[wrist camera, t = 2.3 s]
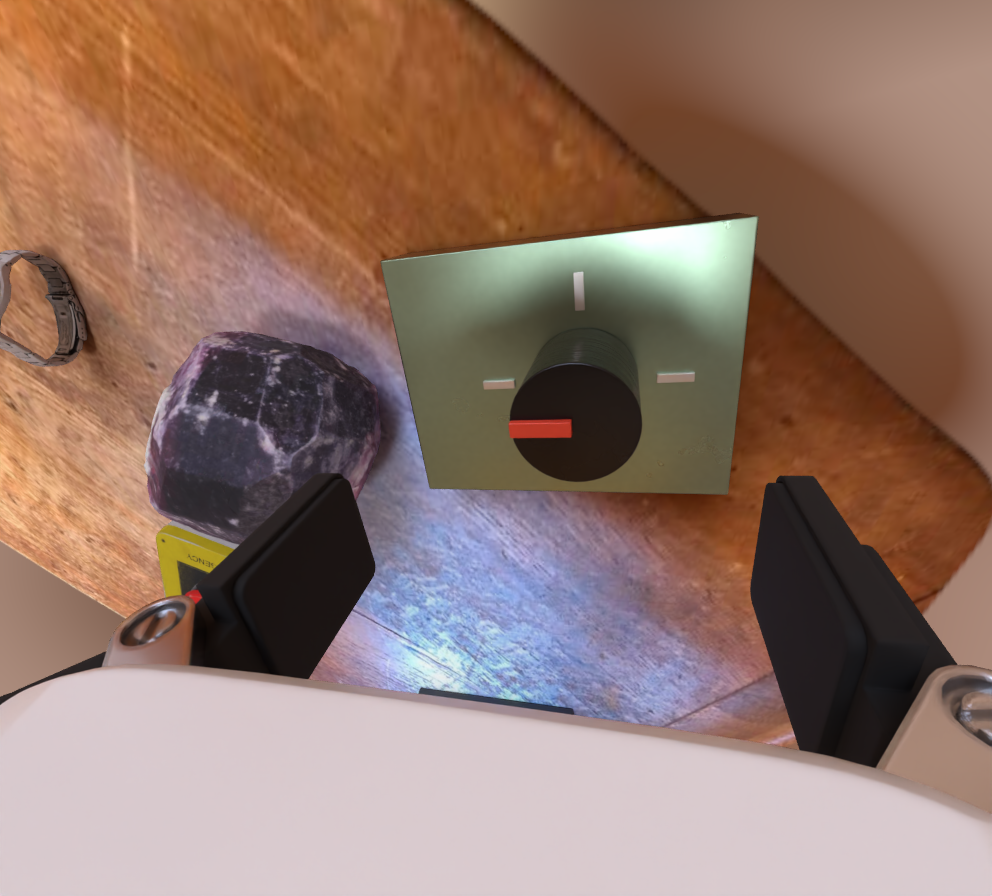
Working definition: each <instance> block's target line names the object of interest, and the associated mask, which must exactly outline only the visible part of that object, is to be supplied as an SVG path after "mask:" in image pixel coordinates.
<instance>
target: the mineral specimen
mask: <svg viewBox="0 0 992 896" xmlns="http://www.w3.org/2000/svg"><path fill="white" fill-rule="evenodd" d="M380 439H381V423H380V418H379V401H378V393H377V390H376V386H375V385H373V384H372V383H371V382H370V381H369V380H368V379H367V378H366V377H365V376H364V375H363V374H361V373H360V372H359V371H358V370H357V369H355V368H354V367H351V366H348V365H347V364H345V363H344V362H343V361H341V360H339V359H338V358H336V357H335V356H334V355H332V354H330V353H327V352H324V351H321V350H318V349H315V348H313V347H311V346H306V345H302V344H298V343H294V342H290V341H286V340H281V339H278V338H274V337H270V336H266V335H263V334H256V333H249V332H242V331H241V332H218V333H213V334H211V335H209V336H207V337H204V338H202V339H201V340H200V341H199V342H198V344H197V345H196V346H195V348H194V349H193V351H192V352H191V354H190V356H189V357H188V359H187V360H186V361H185V362H184V363H183V364H182V366H181V367H180V368H179V370H178V371H177V372H176V374H175V375H174V376H173V379H172V383H171V384H170V385H169V386H168V387H167V388H166V389H165V390H164V391H163V393H162V395H161V397H160V400H159V403H158V406H157V409H156V412H155V415H154V418H153V422H152V426H151V433H150V436H149V439H148V443H147V449H146V455H145V457H146V462H145V464H144V467H145V470H146V473H147V476H148V483H147V487H148V492H149V498H150V503H151V504H152V506H153V507H154V509H155V510H156V511H157V512H158V513H159V514H161V515H163V516H165V517H167V518H168V519H170V520H173V521H175V522H178V523H180V524H183V525H185V526H189V527H190V528H192V529H194V530H196V531H198V532H201V533H204V534H206V535H209V536H212V537H216V538H220V539H222V540H225V541H227V542H231V543H234V544H238V545H240V544H241V543H242V542H243V541H244V540H245V539H246V538H247V537H248V536H249V535H250V534H252V533H253V532H254V531H255V530H256V529H257V528H258V527H259V526H260V525H261V524H262V523H263V522H264V521H265V520H267V519H268V518H269V517H270V516H271V515H272V514H273V513H274V512H275V511H276V510H277V509H278V508H279V507H280V506H281V505H283V504H284V503H285V502H286V501H287V500H288V499H289V498H290V497H291V496H292V495H293V494H294V493H295V492H296V491H298V490H299V489H300V488H301V487H302V486H303V485H304V484H305V483H306V482H307V481H308V480H309V479H310V478H311V477H312V476H314V475H315V474H317V473H339V474H342V476H343V477H344V478H345V479H347V480H348V481H349V482H350V484H351V487H352V490H353V493H354V497H355V500H357V497H358V495H359V493H360V491H361V490H362V488H363V485H364V483H365V481H366V479H367V477H368V474H369V473H370V470H371V467H372V464H373V461H374V458H375V456H376V454H377V451H378V448H379V443H380Z"/></svg>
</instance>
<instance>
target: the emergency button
mask: <svg viewBox="0 0 992 896" xmlns="http://www.w3.org/2000/svg"><path fill="white" fill-rule="evenodd" d="M156 543H157V549H158V556H159V562H160V569H161V575H162V581H163V588H164V594H165V598H166V597H169V596H176V595H184V596H189V597H190V598H191V599H193V600H194V602H195V604H196V603H197V602H198V601H199V600H200V599H201V598H202V596H201V595H200V593H199V591H198V589H197V587H196V585H197V584H198V583H199V582H200V581H201V580H202V579H203V578H205V577H206V576H207V575H208V574H209V573H210V572H211V571H212V570H213V569H214V568H215V567H216V566H217V565H218V564H219V563H221V562H222V561H223V560H224V559H225V558H226V557H227V556H228V555H229V554H230V553H231V552H232V551H233V550H234V549H236V548H237V547H238V546H239V545H238V544H234V543H231V542H227V541H225V540H222V539H220V538H216V537H212V536H209V535H206V534H204V533H201V532H198V531H196V530H194V529H192V528H190V527H189V526H185V525H183V524H180V523H178V522H175V521H173V520H172V521H171V522H170V523H169V524H168V525H167V526H164V527H163V528H162V529H161V530H160V531H159V532H158V533H157V535H156Z"/></svg>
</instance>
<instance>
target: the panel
mask: <svg viewBox="0 0 992 896" xmlns="http://www.w3.org/2000/svg"><path fill="white" fill-rule="evenodd" d="M758 219H759V217H758V216H755V215H748V214H742V213H734V214H726V215H718V216H710V217H701V218H693V219H685V220H677V221H668V222H660V223H652V224H644V225H635V226H627V227H619V228H611V229H603V230H594V231H586V232H578V233H570V234H561V235H553V236H545V237H537V238H528V239H520V240H512V241H504V242H496V243H487V244H479V245H471V246H463V247H454V248H446V249H438V250H430V251H421V252H413V253H407V254H403V255H400V256H396V257H392V258H389V259H385V260H382V261H381V267H382V271H383V276H384V281H385V285H386V290H387V294H388V299H389V304H390V308H391V313H392V317H393V322H394V327H395V331H396V336H397V340H398V345H399V349H400V354H401V359H402V363H403V368H404V372H405V377H406V382H407V386H408V391H409V395H410V400H411V405H412V409H413V414H414V418H415V423H416V428H417V432H418V437H419V441H420V446H421V450H422V455H423V460H424V464H425V469H426V473H427V478H428V483H429V487H430V489H473V490H523V491H574V492H625V493H675V494H726V495H727V494H728V489H729V481H730V472H731V463H732V454H733V445H734V436H735V427H736V418H737V409H738V400H739V391H740V382H741V373H742V364H743V355H744V346H745V337H746V328H747V319H748V310H749V301H750V292H751V283H752V274H753V265H754V256H755V247H756V238H757V229H758ZM581 328H589V329H596V330H600V331H603V332H606V333H608V334H610V335H612V336H614V337H616V338H617V339H618V340H619V341H621V342H622V343H623V344H624V345H625V346H626V347H627V348H628V350H629V351H630V352H631V354H632V356H633V358H634V360H635V363H636V365H637V370H638V378H639V390H640V401H641V413H642V433H641V437H640V441H639V443H638V446H637V448H636V450H635V451H634V453H633V455H632V456H631V457H630V459H629V460H628V461H627V462H626V463H625V464H624V465H623V466H622V467H620V468H619V469H618V470H616V471H615V472H613V473H611V474H609V475H608V476H605V477H603V478H600V479H596V480H593V481H586V482H569V481H563V480H559V479H556V478H552V477H550V476H548V475H545V474H544V473H542V472H540V471H538V470H537V469H536V468H534V467H533V466H532V465H531V464H529V463H528V462H527V461H526V460H525V458H524V457H523V456H522V455H521V453H520V452H519V450H518V449H517V447H516V445H515V443H514V441H513V438H510V434H509V425H508V424H509V422H510V410H511V406H512V403H513V400H514V398H515V395H516V394H517V392H518V390H519V388H520V386H521V384H522V382H523V380H524V379H525V377H526V375H527V373H528V371H529V369H530V367H531V365H532V364H533V362H534V360H535V358H536V356H537V354H538V353H539V351H540V350H541V349H542V347H543V346H544V345H545V344H546V343H547V342H548V341H550V340H551V339H552V338H554V337H555V336H557V335H559V334H561V333H564V332H566V331H570V330H573V329H581Z"/></svg>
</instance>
